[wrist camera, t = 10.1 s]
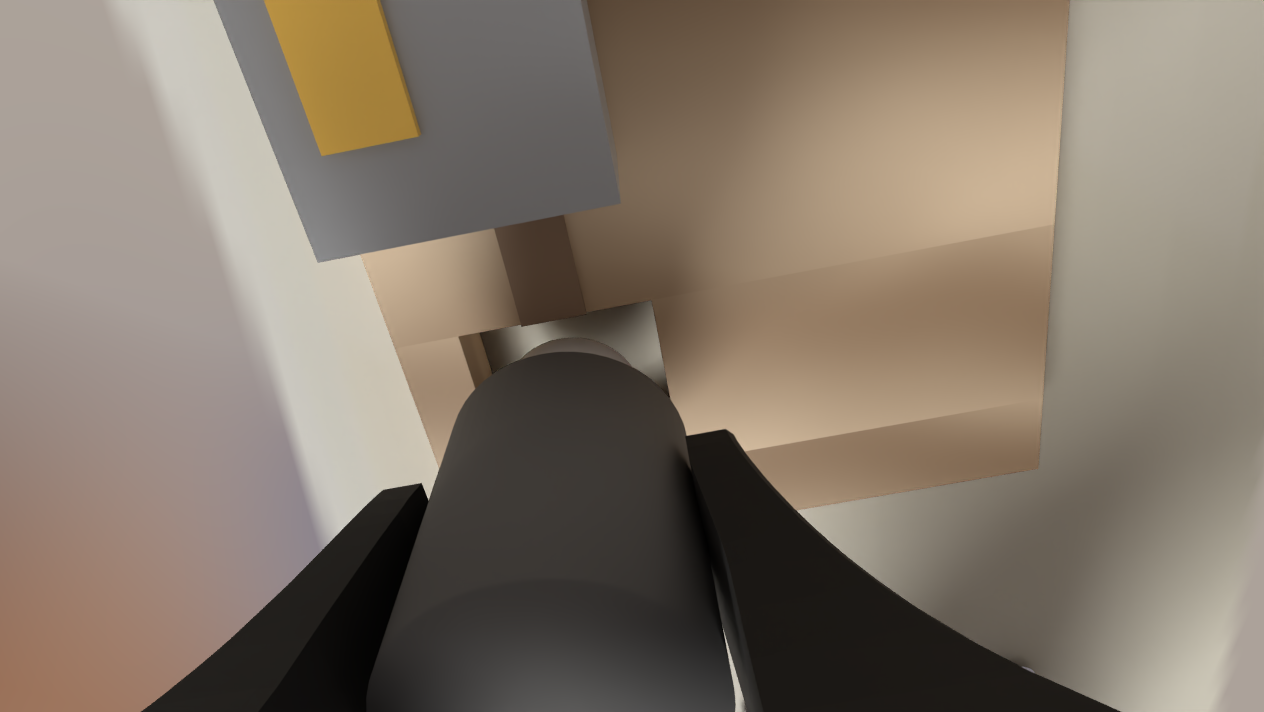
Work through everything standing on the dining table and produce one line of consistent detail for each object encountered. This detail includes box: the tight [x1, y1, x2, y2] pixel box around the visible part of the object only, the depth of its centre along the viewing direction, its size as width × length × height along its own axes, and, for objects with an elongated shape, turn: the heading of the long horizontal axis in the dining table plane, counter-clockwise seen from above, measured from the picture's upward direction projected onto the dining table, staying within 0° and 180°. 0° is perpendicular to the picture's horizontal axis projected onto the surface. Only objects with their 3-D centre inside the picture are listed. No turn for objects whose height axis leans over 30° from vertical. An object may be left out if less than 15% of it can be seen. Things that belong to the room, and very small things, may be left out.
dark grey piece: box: [366, 338, 735, 712], centre depth 11 cm, size 4×4×7 cm
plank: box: [360, 0, 1069, 510], centre depth 13 cm, size 15×12×2 cm
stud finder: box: [214, 0, 621, 263], centre depth 10 cm, size 5×4×3 cm
